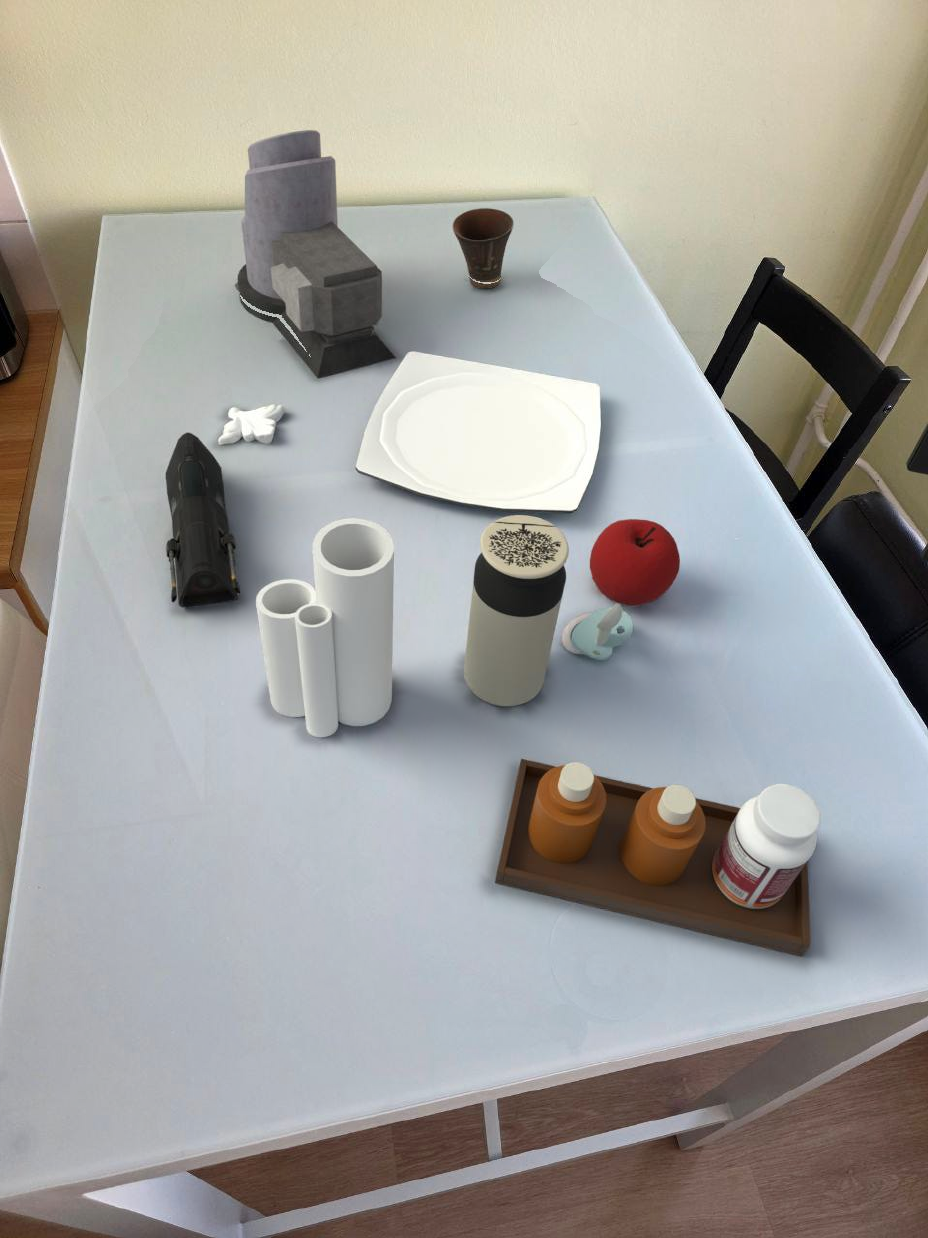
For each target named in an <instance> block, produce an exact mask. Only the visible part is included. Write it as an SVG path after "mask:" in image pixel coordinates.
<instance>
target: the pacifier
mask: <svg viewBox="0 0 928 1238" xmlns="http://www.w3.org/2000/svg"><path fill="white" fill-rule="evenodd" d="M633 628H634V625H633V620H632V617H631V616H630V614H628V613H627V612H626V611H624V610H623V607H622V606H621V604H619V603H615V604H614V605H613V606H612V607H610V608H603V609H600V610H597V611H595V612H589V613H584V614H581V615H579V616H576V617H574V618H573V619H572V620H571V621H569V623H567V625H566V626H565V627H564V629H563V630H562V634H561V644H562V646H563V647H564V649H565V650H566V651H567V652H570V653H572V654H575V655H585V656H587V657H589V658H592V659H594V660H598V661H606V660H608V659H609V658H610V657H611V656H612V653H613V649H614V648H617V647H620V646H621V645H624V644H625V643H626V642H627V641H628V640H629V639H630V637H631V635H632V634H633ZM618 629H623V630H624V631H623V632H621V633H619V632H618Z"/></svg>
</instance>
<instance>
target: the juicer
mask: <svg viewBox="0 0 928 1238" xmlns="http://www.w3.org/2000/svg"><path fill="white" fill-rule="evenodd" d="M321 143H322V142H321V133H320V132H319V131H318V130H315V129H311V130H310V129H307V130H305V129H304V130H297V131H291V132H290V131H289V132H285V133H281V134H277V135H274V136H269V137H266V138H263V139H260V140H257V141H255V142H253V143H251V144H250V145H249V146H248V148H247V158H248V167H249V169H247V171H246V173H245V175H244V216H243V218H242V219H241V220H240V223H241V232H242V241H243V249H244V258H245V259H244V260H245V264H244V265H243V266H241V268H240V269H239V271H238V274H237V281H236V283H235V284H234V288H235V289H236V290H237V291H238V294H239V292H240V294H239V300H240V304H241V306H242V307H243V309H244V310H245V311H247V313H249V314H250V315H252V316H254V317H255V318H257V319H259V320H262V321H265V322H269V323H272V324H273V326H274V327H275V328H276V329H277V330H278V332H279V333H280V334H281V336H283V338H284V339H285V341H287V343H288V344H289V345H290V346H291V347H292V349H293V350H294V351H295V353H296V354H297V355H298V356H299V357H300V359H301V360H302V361H303V362H304V364H305V365H306V366H307V367H308V368H309V370H310V371H311V373H313V374H314V376H315V377H316V378H317V379H320V378H325V377H328V376H329V377H330V376H332V375H336V374H339V373H343V372H347V371H351V370H355V369H360V368H362V367H366V366H370V365H373V364H377V363H381V362H385V361H389V360H392V359H396V358H397V357H396V356H395V355H394V353H393V352H392V351H391V349H390V348H388V347H387V345H386V344H385V343H384V342H383V341H382V339H380V337H379V336H378V335H377V334H376V333H375V331H374V330H375V327H374V326H377V325H378V324H379V321H380V320H381V318H382V317H383V271H382V269H380V268H379V267H378V265H377V264H376V263H375V262H374V261H373V260H372V259H371V258H370V257H369V256H368V255H367V254H366V253H365V252H364V251H363V250H362V249H361V248H360V247H358V245H357V244H356V243H355V242H353V240H351V238H349V236H348V235H346V234H345V233H344V232H343V231H342V230H341V229H340V227H339V226H338V225H339V224H338V223H339V222H338V221H339V220H338V199H337V197H338V196H337V194H338V193H337V170H336V169H337V168H336V166H337V165H336V159H335V158H334V157H333V156H332V155H329V156H322V149H321V147H322V144H321ZM240 295H241V296H242V297H243V299H245V300H246V301H247V302H248V303H250V304H251V305H252V306H255V307H256V308H258V309H260V310H262V311H266V312H269V313H273V314H279V315H282V318H284V320H285V321H286V323H287V324H288V325H289V326H290V327H291V329H292V330H293V332H294V333H295V334H296V336H297V337H298V339H299V341H300V342H301V343H302V345H303V346H304V347H305V349H306V351H307V352H306V351H305V350H304V348H303V347H302V346H301V345H300V344H299V342H298V341H297V340H296V339H295V338H294V336H293V335H292V334H291V333H290V331H289V330H288V329H287V328H286V327H285V325H284V324H283V323H282V322H281V321H280V319H279V318H277V317H272V316H268V315H265V314H262V313H259V312H257V311H255V310H253V309H251V308H250V307H248V306H247V305H246V304H245V303H244V302H243V301H242V299H241V297H240ZM309 354H310V356H311V357H310V356H309Z"/></svg>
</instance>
